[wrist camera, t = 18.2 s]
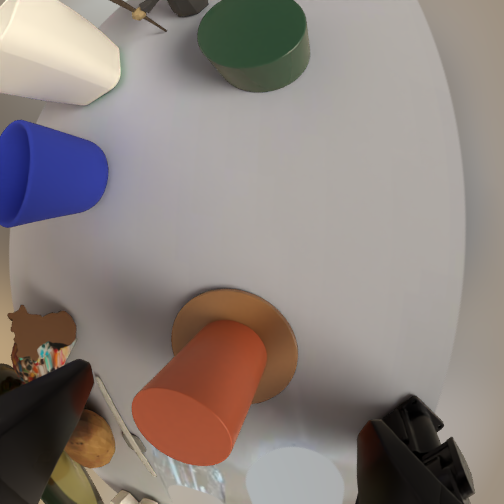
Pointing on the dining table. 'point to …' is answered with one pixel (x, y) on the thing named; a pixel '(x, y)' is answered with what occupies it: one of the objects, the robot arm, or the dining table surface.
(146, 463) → the thin beige stick
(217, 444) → the top tin
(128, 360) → the dining table surface
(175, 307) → the dining table surface
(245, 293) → the cork mat
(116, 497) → the bracket
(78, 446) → the potato
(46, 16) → the cup
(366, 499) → the robot arm
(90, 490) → the plate
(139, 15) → the wizard figurine
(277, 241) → the dining table surface
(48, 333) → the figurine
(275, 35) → the tin
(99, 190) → the mug
